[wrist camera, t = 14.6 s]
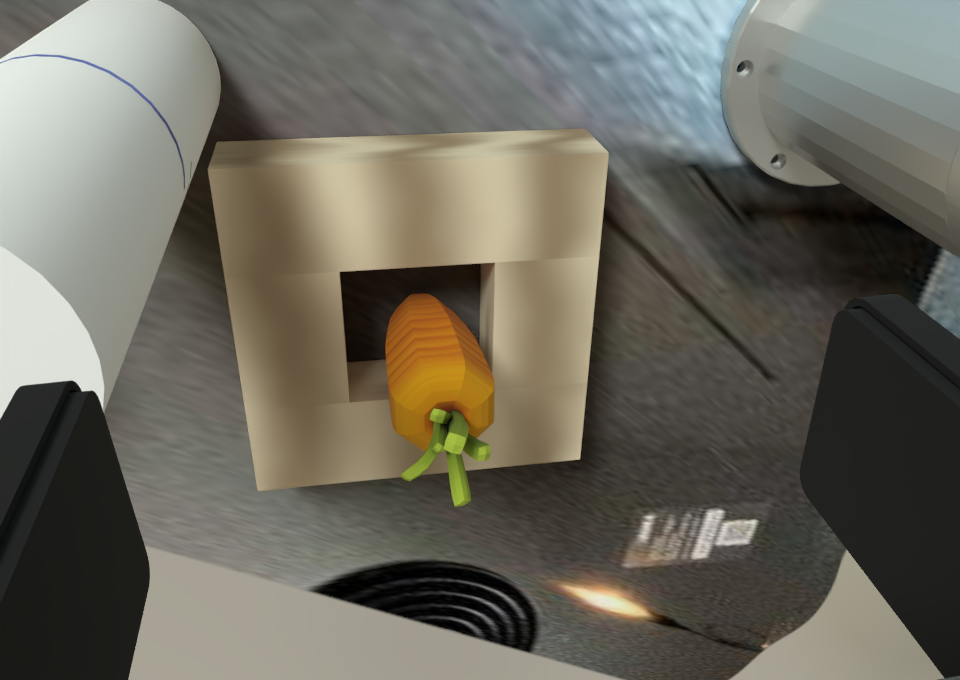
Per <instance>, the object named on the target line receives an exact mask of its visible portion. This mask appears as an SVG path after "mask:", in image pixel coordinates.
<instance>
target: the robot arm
mask: <svg viewBox="0 0 960 680" xmlns="http://www.w3.org/2000/svg"><path fill="white" fill-rule="evenodd" d="M740 63H741V64H742V65H741V67H740V68H739V69H738V70H737V67H738V65H739V64H740ZM721 101H722V107H723V113H724V118H725V121H726V123H727V126H728V128H729V131H730V134H731V136H732V138H733V140H734V141H735V143H736V144H737V146H738V147H739V148H740V150H741V151H742V153H743V154H744V155H745V156H746V157H747V158H748V159H749V160H751V161H752V162H753V163H754V164H755V165H756V166H757V167H759V168H760V169H761V170H763V171H764V172H766V173H767V174H769V175H770V176H772V177H775V178H777V179H780V180H782V181H785V182H787V183H790V184H795V185H801V186H808V187H815V186H831V185H836V184H840V183H842V184H844V185H845V186H847V187H848V188H850V189H851V190H853V191H855V192H856V193H858V194H859V195H861V196H862V197H864V198H866V199H867V200H869V201H870V202H872V203H873V204H875V205H877V206H878V207H880V208H881V209H883V210H884V211H886V212H888V213H889V214H891V215H892V216H894V217H895V218H897V219H899V220H900V221H902V222H903V223H905V224H906V225H908V226H910V227H911V228H913V229H914V230H916V231H917V232H919V233H920V234H922V235H924V236H925V237H927V238H928V239H930V240H931V241H933V242H935V243H936V244H938V245H939V246H941V247H942V248H944V249H946V250H947V251H949V252H950V253H952V254H954V255H955V256H957V257H958V258H960V0H748V1H747V2H746V4H745V6H744V8H743V9H742V11H741V13H740V15H739V17H738V18H737V20H736V22H735V25H734V27H733V30H732V33H731V35H730V38H729V41H728V43H727V46H726V51H725V56H724V61H723V66H722V71H721ZM773 157H774V158H773ZM772 158H773V159H772ZM800 480H801V485H802V488H803V490H804V493H805V494H806V496H807V498H808V499H809V500H810V501H811V503H812V504H813V505H814V507H815V508H816V509H817V511H818V512H819V513H820V515H821V516H822V517H823V519H824V520H825V521H826V523H827V524H828V525H829V526H830V528H831V529H832V530H833V532H834V533H835V534H836V536H837V537H838V538H839V540H840V541H841V542H842V544H843V545H844V546H845V548H846V549H847V550H848V551H849V553H850V554H851V555H852V557H853V558H854V559H855V561H856V562H857V563H858V565H859V566H860V567H861V569H862V570H863V571H864V573H865V574H866V575H867V576H868V578H869V579H870V580H871V582H872V583H873V584H874V586H875V587H876V588H877V590H878V591H879V592H880V593H881V595H882V596H883V598H884V599H885V600H886V601H887V603H888V604H889V605H890V607H891V608H892V609H893V611H894V612H895V613H896V615H897V616H898V617H899V618H900V620H901V621H902V623H903V624H904V625H905V626H906V628H907V629H908V630H909V632H910V633H911V634H912V636H913V637H914V638H915V640H916V641H917V642H918V644H919V645H920V646H921V647H922V649H923V650H924V651H925V653H926V654H927V655H928V657H929V658H930V659H931V661H932V662H933V663H934V665H935V666H936V667H937V669H938V670H939V671H940V673H941V674H942V675H943V676H944V679H939V680H960V339H958V338H957V337H956V336H954V335H953V334H952V333H950V332H949V331H948V330H947V329H945V328H944V327H943V326H941V325H940V324H939V323H937V322H936V321H935V320H933V319H932V318H931V317H929V316H928V315H927V314H926V313H924V312H923V311H922V310H920V309H919V308H918V307H916V306H915V305H914V304H912V303H911V302H910V301H908V300H907V299H906V298H904V297H903V296H901V295H898V294H889V295H880V296H870V297H860V298H854V299H852V300H851V301H849V302H848V304H847V305H846V306H845V309H844V310H841V311H840V312H838V313H837V314H836V316H835V318H834V321H833V324H832V328H831V333H830V337H829V342H828V346H827V351H826V355H825V360H824V364H823V369H822V373H821V378H820V382H819V387H818V391H817V396H816V400H815V405H814V409H813V414H812V418H811V422H810V427H809V431H808V436H807V440H806V445H805V449H804V454H803V458H802V463H801V467H800ZM149 580H150V570H149V561H148V556H147V553H146V549H145V546H144V543H143V539H142V536H141V533H140V530H139V526H138V523H137V520H136V517H135V513H134V510H133V507H132V504H131V500H130V497H129V494H128V491H127V487H126V484H125V481H124V478H123V474H122V471H121V468H120V465H119V461H118V458H117V455H116V452H115V448H114V445H113V442H112V439H111V435H110V432H109V429H108V426H107V422H106V419H105V416H104V413H103V409H102V406H101V403H100V400H99V398H98V396H97V394H96V393H95V392H94V391H83V392H82V391H81V388H80V387H79V385H78V384H77V383H76V382H74V381H73V380H71V381H61V382H52V383H42V384H33V385H24V386H20V387H19V388H18V389H17V390H16V392H15V393H14V395H13V397H12V399H11V401H10V402H9V404H8V406H7V408H6V410H5V412H4V413H3V415H2V417H1V419H0V680H128V677H129V673H130V668H131V664H132V660H133V655H134V651H135V646H136V642H137V637H138V633H139V628H140V624H141V619H142V615H143V611H144V606H145V602H146V597H147V592H148V588H149Z"/></svg>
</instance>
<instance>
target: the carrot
mask: <svg viewBox="0 0 960 680" xmlns="http://www.w3.org/2000/svg"><path fill="white" fill-rule="evenodd" d="M385 350H386V365H387V380H388V393H389V404H390V412H391V420H392V426H393V429H394V430H395V432H396V433H397V434H399V435H400V436H402V437H403V438H405V439H406V440H408V441H409V442H411V443H412V444H414V445H415V446H417V447H418V448H420V449H421V450H423V451H424V454H423V455H422V456H421V457H420V458H419V459H418V461H417V462H416V463H415V464H413V465H412V466H411V467H409V468H408V469H406V470H405V471H404V472H403V473H402V474H400V475H401V477H402V478H403V479H405V480H407V481H412V480H413V479H415V478H417V477H419V476H420V475H421V474H423V473H424V472H425V471H426V470H427V469H428V468H429V467H430V465H431V464H432V462H433V461H434V459H435V457H436V456H437V454H438V453H442V452H444V451H446V455H447V464H448V472H449V480H450V487H451V493H452V499H453V502H454V506H456V507H459V506H463V505H465V504H467V503H468V502H470V501H471V495H470V488H469V484H468V479H467V475H466V471H465V466H464V462H463V458H462V454H461V452H462V450H463V451H464V452H465V453H466V454H468V455H469V456H470V457H471V458H473V459H475V460H477V461H485V460H487V459H489V458H490V453H491V449H490V445H489V444H487V443H485V442H482V441H480V440H478V439H477V438H478V437H479V436H480V435H481V434H482V433H483V432H484V431H485V430H486V429H487V428H488V427H489V426H491V425H492V424H493V423H494V389H495V383H494V378H493V376H492V373H491V371H490V369H489V366H488V364H487V362H486V359H485V357H484V355H483V353H482V351H481V349H480V347H479V345H478V343H477V341H476V338H475V337H474V335H473V334H472V333H471V332H470V330H469V329H468V328H467V326H466V325H465V324H464V323H463V322H462V320H461V319H460V318H459V317H458V316H457V315H456V314H455V313H454V312H453V311H452V310H451V309H449V308H448V307H447V306H445V305H444V304H443V303H442V302H440V301H439V300H438V299H437V298H435V297H433V296H432V295H430V294H427V293H413V294H410V295H409V296H408V297H407V298H406V299H405V300H404V301H403V302H402V303H401V304H400V305H399V306H398V307H397V308H396V310H395V312H394V313H393V315H392V316H391V318H390V321H389V326H388V330H387V337H386V344H385Z"/></svg>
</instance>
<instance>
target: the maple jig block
mask: <svg viewBox="0 0 960 680" xmlns="http://www.w3.org/2000/svg"><path fill="white" fill-rule="evenodd" d="M608 157H609V153H608V152H607V151H606V149H605V148H604V147H603V146H602V145H601V144H600V143H599V142H598V141H597V140H596V139H595V138H594V137H593V136H592V135H591V134H590V133H589V132H588V131H587V130H586V129H557V130H529V131H501V132H473V133H445V134H417V135H389V136H361V137H333V138H305V139H277V140H249V141H221V142H217V143H216V146H215V149H214V152H213V155H212V158H211V161H210V164H209V167H208V175H209V181H210V187H211V194H212V200H213V207H214V213H215V219H216V226H217V232H218V239H219V245H220V251H221V258H222V264H223V271H224V277H225V284H226V290H227V296H228V303H229V309H230V316H231V322H232V328H233V335H234V341H235V348H236V354H237V360H238V367H239V373H240V380H241V386H242V393H243V399H244V405H245V412H246V418H247V425H248V431H249V437H250V444H251V450H252V457H253V463H254V469H255V476H256V482H257V489H258V491H264V490H274V489H284V488H294V487H305V486H315V485H325V484H335V483H345V482H356V481H366V480H376V479H386V478H396V477H401V475H400V474H402V473H403V472H404V471H405V470H406V469H408V468H409V467H411V466H412V465H413V464H415V463H416V462H417V461H418V459H419V458H420V457H421V456H422V455H423V454H424V451H423V450H421V449H420V448H418V447H417V446H415V445H414V444H412V443H411V442H409V441H408V440H406V439H405V438H403V437H402V436H400V435H399V434H397V433H396V432H395V430H394V429H393V426H392V420H391V412H390V404H389V393H388V380H387V365H386V359H385V360H372V361H359V362H347V355H346V342H345V329H344V317H343V304H342V291H341V278H340V272H346V271H362V270H379V269H396V268H412V267H429V266H446V265H462V264H479V263H481V279H480V343H479V347H480V349H481V351H482V353H483V355H484V357H485V359H486V362H487V364H488V366H489V369H490V371H491V373H492V376H493V378H494V383H495V389H494V423H493V424H492V425H491V426H489V427H488V428H487V429H486V430H485V431H484V432H483V433H482V434H481V435H480V436H479V437H478V438H477V439H478V440H480V441H482V442H485V443H487V444H489V445H490V449H491V453H490V458H489V459H487V460H485V461H477V460H475V459H473V458H471V457H470V456H469V455H468V454H466V453H465V452H464V451H463V450H462V452H461V454H462V458H463V462H464V466H465V471H468V470H478V469H488V468H498V467H509V466H519V465H529V464H539V463H549V462H560V461H570V460H580V455H581V444H582V434H583V423H584V412H585V402H586V391H587V381H588V370H589V359H590V349H591V338H592V327H593V317H594V306H595V296H596V285H597V274H598V264H599V253H600V242H601V232H602V221H603V211H604V200H605V189H606V179H607V168H608ZM447 472H448V464H447V455H446V451H444V452H442V453H438V454H437V456H436V457H435V459H434V461H433V462H432V464H431V465H430V467H429V468H428V469H427V470H426V471H425V472H424V473H423V474H421V475H427V474H437V473H447Z"/></svg>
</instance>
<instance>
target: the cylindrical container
mask: <svg viewBox="0 0 960 680" xmlns="http://www.w3.org/2000/svg"><path fill="white" fill-rule="evenodd" d="M220 94H221V81H220V72H219V68H218V65H217V61H216V58H215V56H214V54H213V52H212V49H211V47H210V45H209V43H208V42H207V41H206V39H205V38H204V36H203V35H202V33H201V32H200V31H199V29H198V28H197V27H196V26H195V25H194V24H193V23H192V22H191V21H190V20H189V19H188V18H187V17H186V16H184V15H183V14H181V13H180V12H178V11H177V10H175V9H174V8H172V7H171V6H169V5H167V4H165V3H163V2H160V1H158V0H89V1H87V2H86V3H84V4H83V5H81V6H80V7H78V8H76V9H75V10H73V11H72V12H70V13H69V14H67V15H66V16H64V17H63V18H61V19H60V20H58V21H57V22H55V23H54V24H52V25H51V26H49V27H48V28H46V29H45V30H43V31H42V32H40V33H39V34H37V35H36V36H34V37H33V38H31V39H30V40H28V41H27V42H25V43H24V44H22V45H21V46H19V47H18V48H16V49H15V50H13V51H12V52H10V53H9V54H8V55H6V56H5V57H3V58H2V59H0V419H1V417H2V415H3V413H4V412H5V410H6V408H7V406H8V404H9V402H10V401H11V399H12V397H13V395H14V393H15V392H16V390H17V389H18V388H19V387H20V386H24V385H33V384H42V383H52V382H61V381H71V380H73V381H74V382H76V383H77V384H78V385H79V387H80V388H81V391H82V392H83V391H94V392H95V393H96V394H97V396H98V398H99V400H100V403H101V406H102V409H103V413H104V412H105V409H106V406H107V404H108V401H109V398H110V396H111V393H112V390H113V388H114V385H115V382H116V380H117V377H118V374H119V372H120V369H121V366H122V364H123V361H124V358H125V356H126V353H127V350H128V348H129V345H130V343H131V340H132V337H133V335H134V332H135V329H136V327H137V324H138V321H139V319H140V316H141V313H142V311H143V308H144V305H145V303H146V300H147V297H148V295H149V292H150V289H151V287H152V284H153V281H154V279H155V276H156V273H157V271H158V268H159V265H160V263H161V260H162V257H163V255H164V252H165V249H166V247H167V244H168V241H169V239H170V236H171V233H172V231H173V228H174V225H175V223H176V220H177V217H178V215H179V212H180V209H181V207H182V204H183V201H184V199H185V196H186V193H187V191H188V188H189V185H190V182H191V180H192V177H193V174H194V172H195V169H196V166H197V163H198V161H199V158H200V155H201V153H202V150H203V147H204V144H205V142H206V139H207V136H208V134H209V131H210V128H211V125H212V123H213V120H214V117H215V114H216V112H217V109H218V106H219V102H220Z"/></svg>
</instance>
